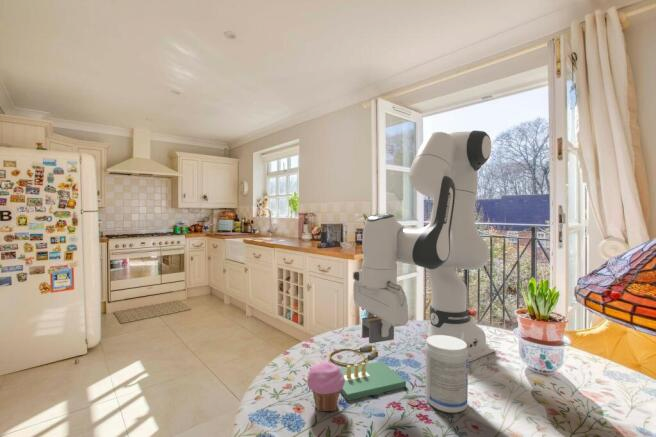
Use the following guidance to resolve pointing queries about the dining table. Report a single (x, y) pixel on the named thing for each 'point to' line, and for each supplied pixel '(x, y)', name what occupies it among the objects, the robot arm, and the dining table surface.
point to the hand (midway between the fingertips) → (377, 332)
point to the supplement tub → (446, 373)
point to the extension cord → (364, 348)
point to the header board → (369, 380)
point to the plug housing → (375, 330)
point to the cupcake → (326, 385)
